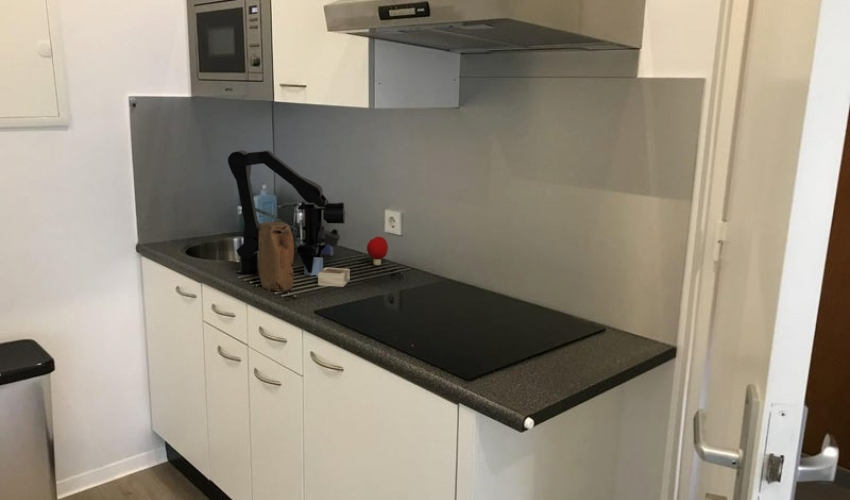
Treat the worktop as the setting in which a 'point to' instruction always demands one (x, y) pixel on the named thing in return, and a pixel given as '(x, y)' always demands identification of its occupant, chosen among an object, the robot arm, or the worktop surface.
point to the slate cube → (315, 267)
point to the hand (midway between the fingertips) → (313, 269)
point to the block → (276, 256)
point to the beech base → (333, 277)
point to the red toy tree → (377, 249)
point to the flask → (327, 250)
